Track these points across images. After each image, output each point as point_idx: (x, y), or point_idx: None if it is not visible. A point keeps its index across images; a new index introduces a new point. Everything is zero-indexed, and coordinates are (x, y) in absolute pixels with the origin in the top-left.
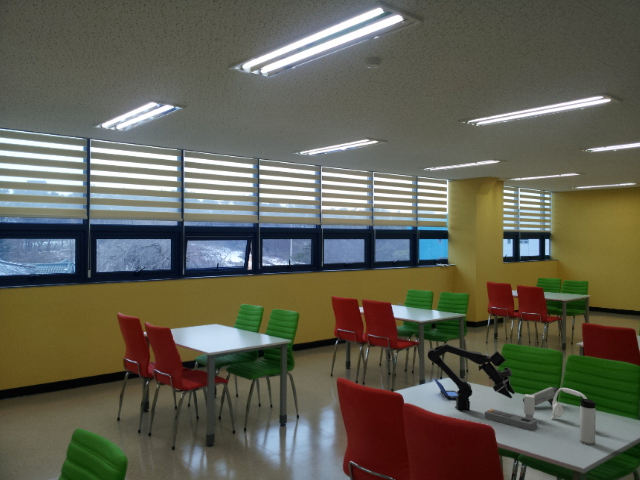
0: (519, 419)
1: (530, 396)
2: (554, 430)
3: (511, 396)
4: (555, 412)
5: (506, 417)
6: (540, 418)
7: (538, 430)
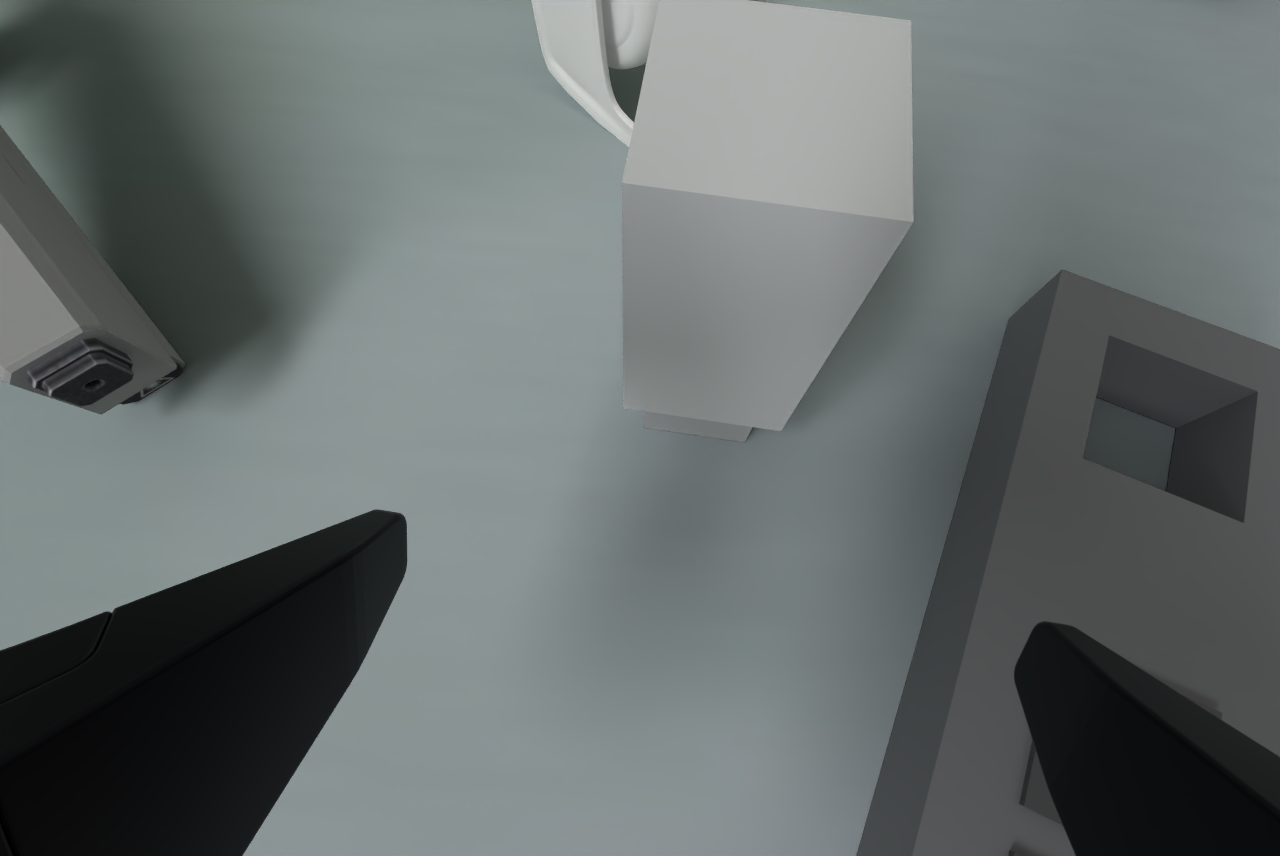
0: (1209, 522)
1: (829, 79)
2: (1031, 155)
3: (1116, 655)
4: None
5: None
6: None
7: None
